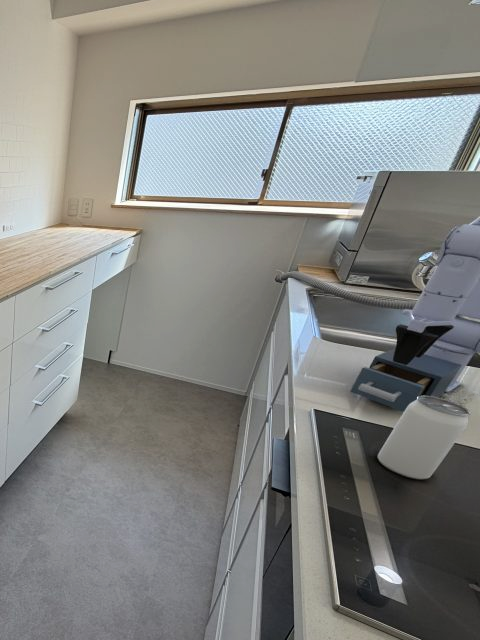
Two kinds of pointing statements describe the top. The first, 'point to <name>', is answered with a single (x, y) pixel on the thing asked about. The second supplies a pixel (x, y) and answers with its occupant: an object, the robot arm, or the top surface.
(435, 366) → the cabinet
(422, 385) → the drawer
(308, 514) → the top surface
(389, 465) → the can
